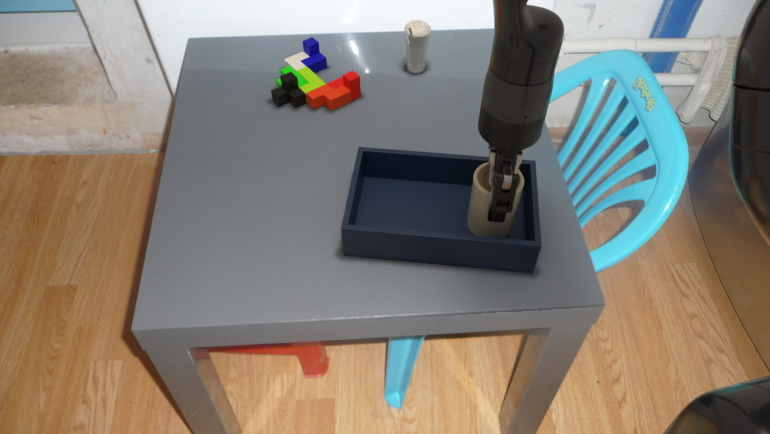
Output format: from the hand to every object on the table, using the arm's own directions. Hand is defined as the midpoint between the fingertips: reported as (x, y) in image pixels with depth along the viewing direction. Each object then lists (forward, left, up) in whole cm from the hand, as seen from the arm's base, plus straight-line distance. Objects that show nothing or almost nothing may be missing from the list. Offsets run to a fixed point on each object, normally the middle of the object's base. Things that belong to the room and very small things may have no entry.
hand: (495, 196), depth 79 cm
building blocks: (+42, -1, -6) cm, 43 cm away
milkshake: (+33, -19, -6) cm, 39 cm away
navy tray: (+5, +4, -6) cm, 9 cm away
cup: (0, 0, -6) cm, 6 cm away
